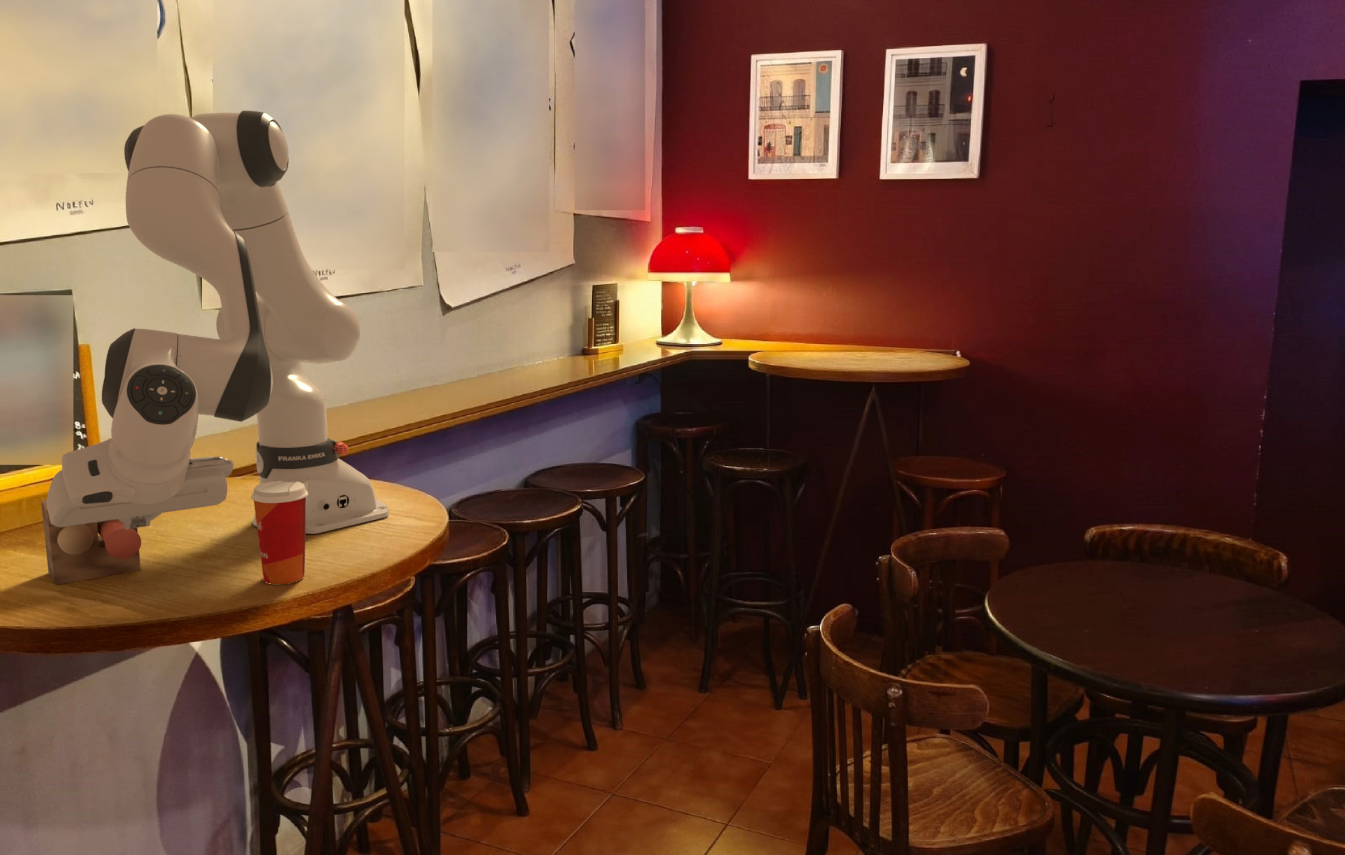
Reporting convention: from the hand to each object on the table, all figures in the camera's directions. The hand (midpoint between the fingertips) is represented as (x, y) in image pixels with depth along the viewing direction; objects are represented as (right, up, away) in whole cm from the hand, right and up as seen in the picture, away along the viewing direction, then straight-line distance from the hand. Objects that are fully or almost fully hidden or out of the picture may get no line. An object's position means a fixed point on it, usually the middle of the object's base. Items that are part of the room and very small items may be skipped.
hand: (135, 523), depth 132 cm
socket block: (-14, -9, +15) cm, 23 cm away
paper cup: (+14, -10, +15) cm, 23 cm away
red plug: (-10, -5, +13) cm, 17 cm away
